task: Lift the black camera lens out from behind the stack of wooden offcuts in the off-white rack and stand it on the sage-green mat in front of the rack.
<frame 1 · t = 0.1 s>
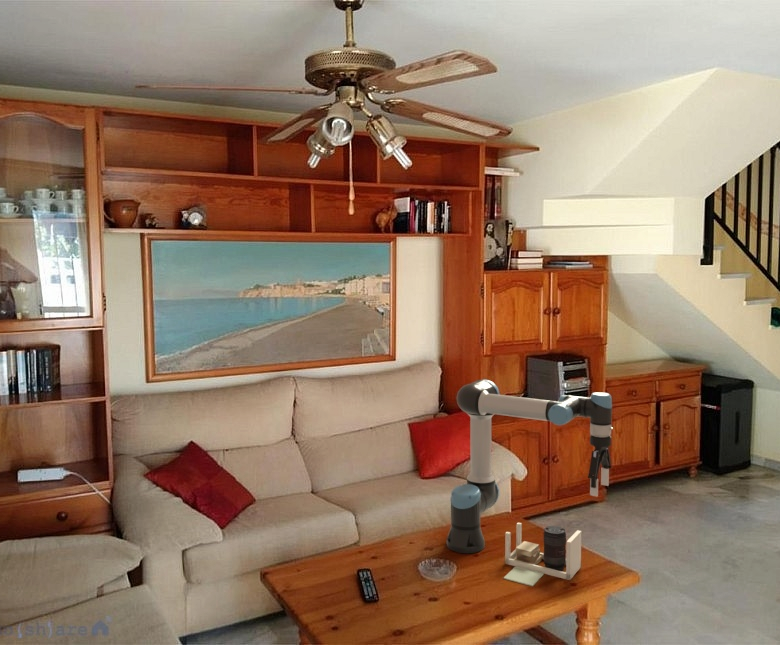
hand: (599, 490, 260), 28 cm above the table, fingers open, 13 cm apart
rack: (542, 565, 261), on the table
camera lens: (554, 568, 259), on the table
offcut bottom: (527, 563, 264), on the table, touching offcut middle
offcut top: (527, 551, 264), point 4 cm above the table, touching offcut middle
offcut middle: (528, 557, 264), point 2 cm above the table, touching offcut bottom, offcut top
mat: (523, 576, 252), on the table
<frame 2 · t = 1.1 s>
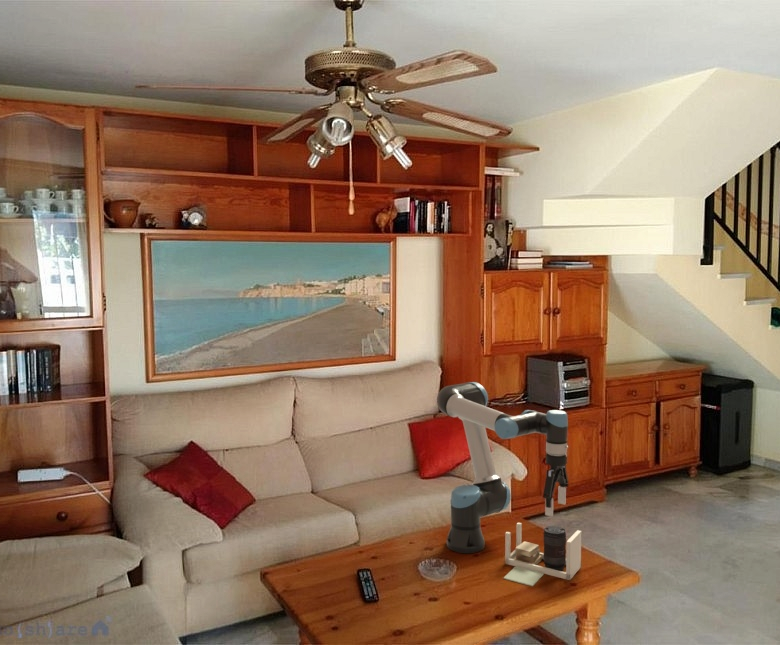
hand: (555, 509, 256), 22 cm above the table, fingers open, 13 cm apart
nothing on the table moved.
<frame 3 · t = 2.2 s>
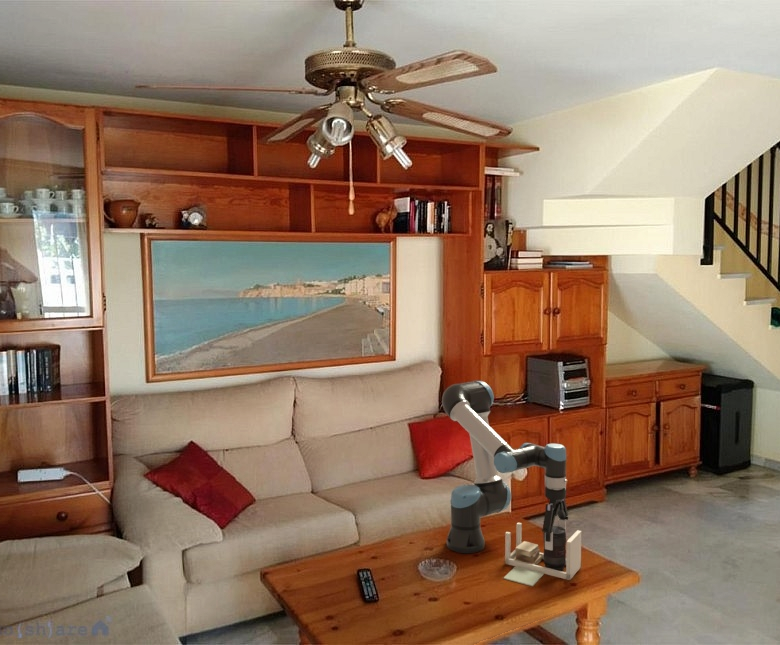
hand: (555, 543, 257), 10 cm above the table, fingers open, 13 cm apart
nothing on the table moved.
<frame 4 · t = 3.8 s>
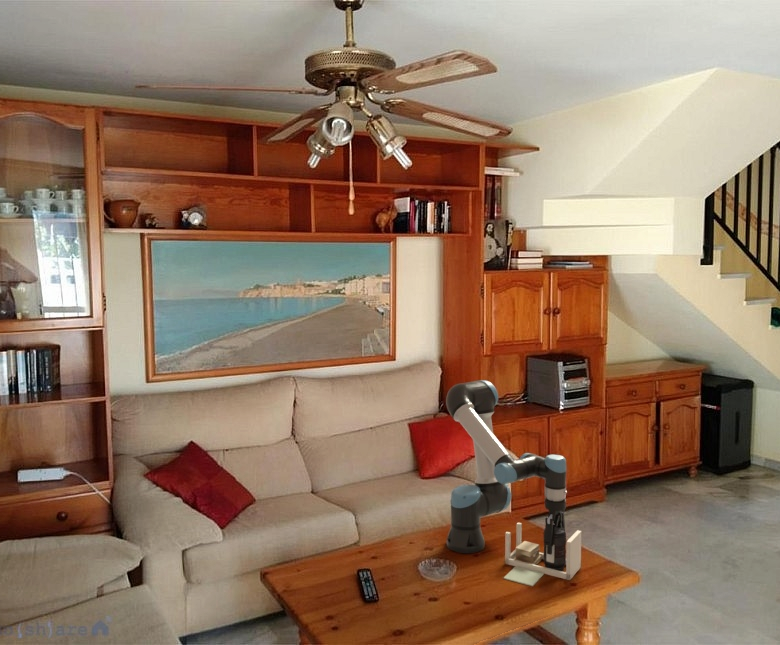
hand: (554, 557, 258), 4 cm above the table, fingers closed on camera lens, 8 cm apart
camera lens: (554, 568, 259), on the table, touching gripper
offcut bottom: (527, 563, 264), on the table
offcut top: (527, 551, 264), point 4 cm above the table
offcut middle: (527, 557, 264), point 2 cm above the table
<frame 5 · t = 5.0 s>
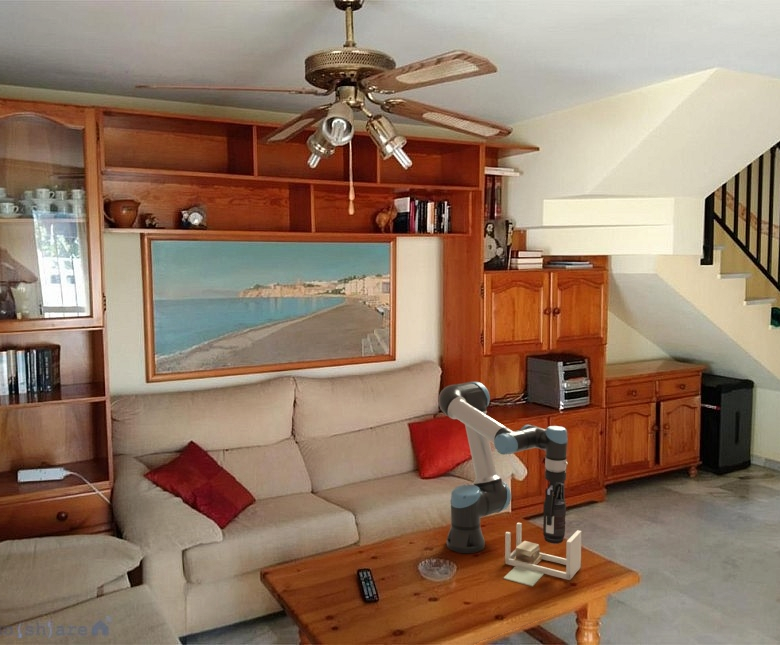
hand: (553, 528, 257), 15 cm above the table, fingers closed on camera lens, 8 cm apart
camera lens: (553, 540, 258), point 11 cm above the table, touching gripper
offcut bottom: (527, 562, 264), on the table, touching offcut middle
offcut top: (527, 551, 264), point 4 cm above the table, touching offcut middle
offcut middle: (527, 556, 264), point 2 cm above the table, touching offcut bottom, offcut top
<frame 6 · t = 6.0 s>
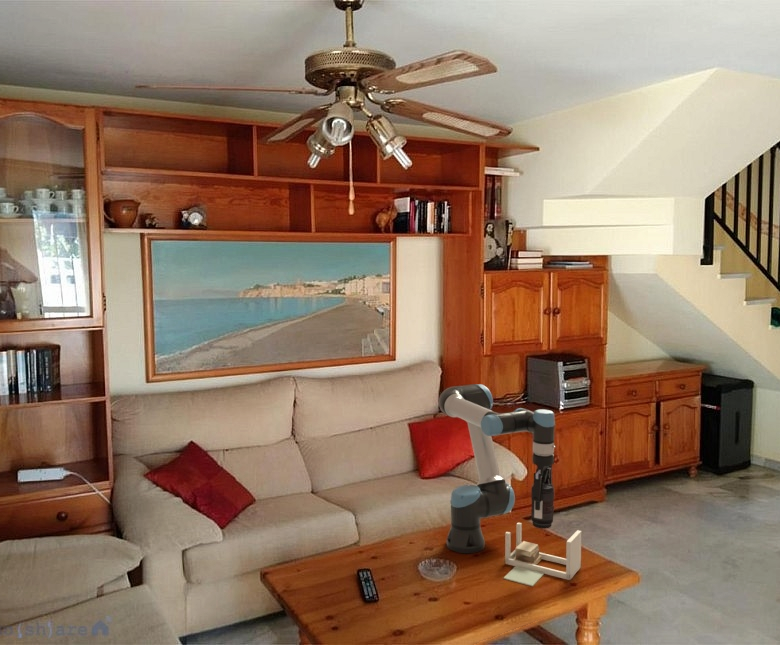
hand: (542, 513, 254), 22 cm above the table, fingers closed on camera lens, 8 cm apart
camera lens: (542, 525, 255), point 17 cm above the table, touching gripper
everything else where it was.
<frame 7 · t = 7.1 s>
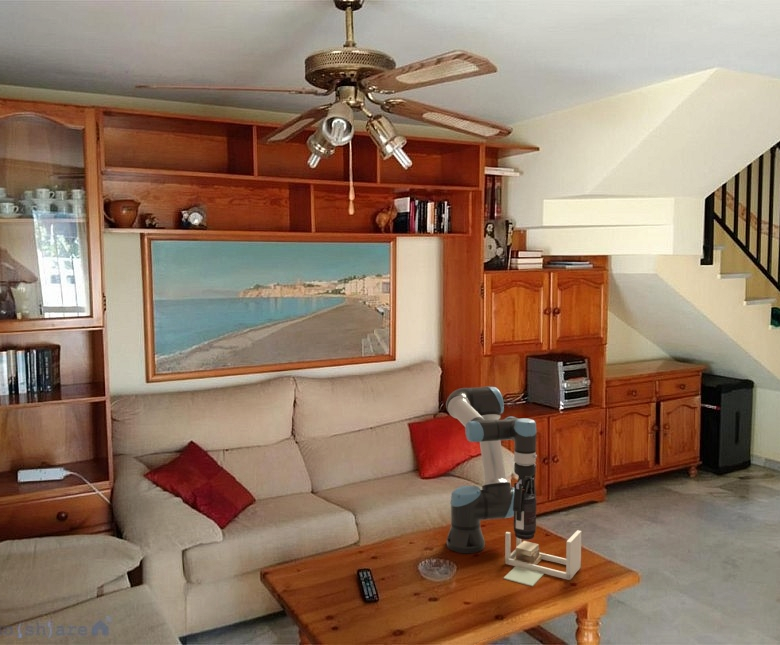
hand: (524, 524, 250), 20 cm above the table, fingers closed on camera lens, 8 cm apart
camera lens: (524, 536, 251), point 15 cm above the table, touching gripper
everything else where it was.
when the fingers open (6 cm above the table, at t = 9.8 s): camera lens drops 2 cm, resting on mat.
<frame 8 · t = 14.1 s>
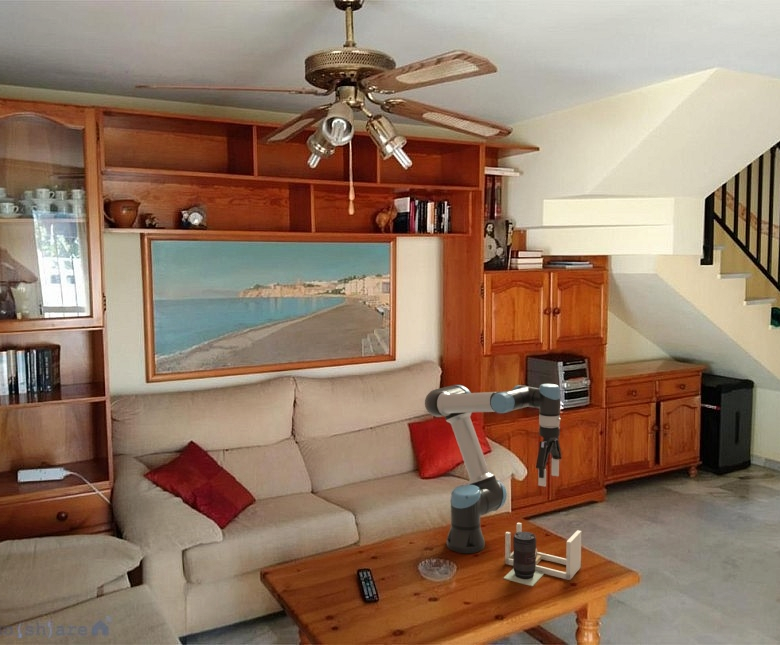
hand: (548, 480, 264), 31 cm above the table, fingers open, 13 cm apart
camera lens: (524, 575, 253), resting on mat
offcut top: (526, 551, 264), point 4 cm above the table
offcut middle: (526, 557, 264), point 2 cm above the table, touching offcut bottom
everything else where it was.
at the end: camera lens inside the target area on the mat (0.2 cm from its centre), point 0.2 cm above the mat's base; camera lens tilted 0°; camera lens touching mat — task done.
